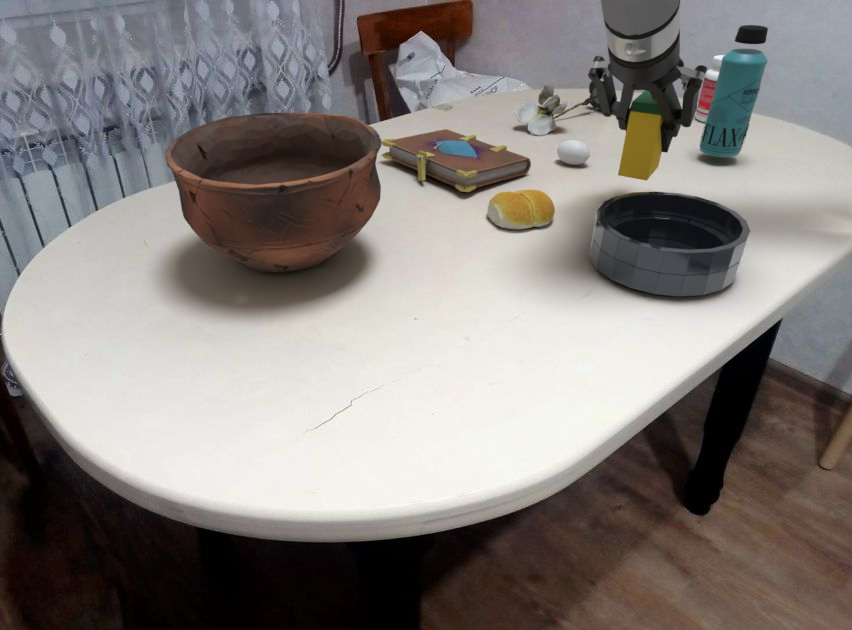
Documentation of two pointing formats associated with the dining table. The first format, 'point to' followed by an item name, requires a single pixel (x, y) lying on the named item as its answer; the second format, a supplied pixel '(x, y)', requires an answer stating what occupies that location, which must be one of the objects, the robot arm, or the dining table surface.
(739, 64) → the beverage bottle
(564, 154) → the egg
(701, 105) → the pill bottle
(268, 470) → the dining table surface
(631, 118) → the sponge
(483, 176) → the book
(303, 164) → the bowl
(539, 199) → the bread roll
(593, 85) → the artificial flower
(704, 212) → the wash bowl
